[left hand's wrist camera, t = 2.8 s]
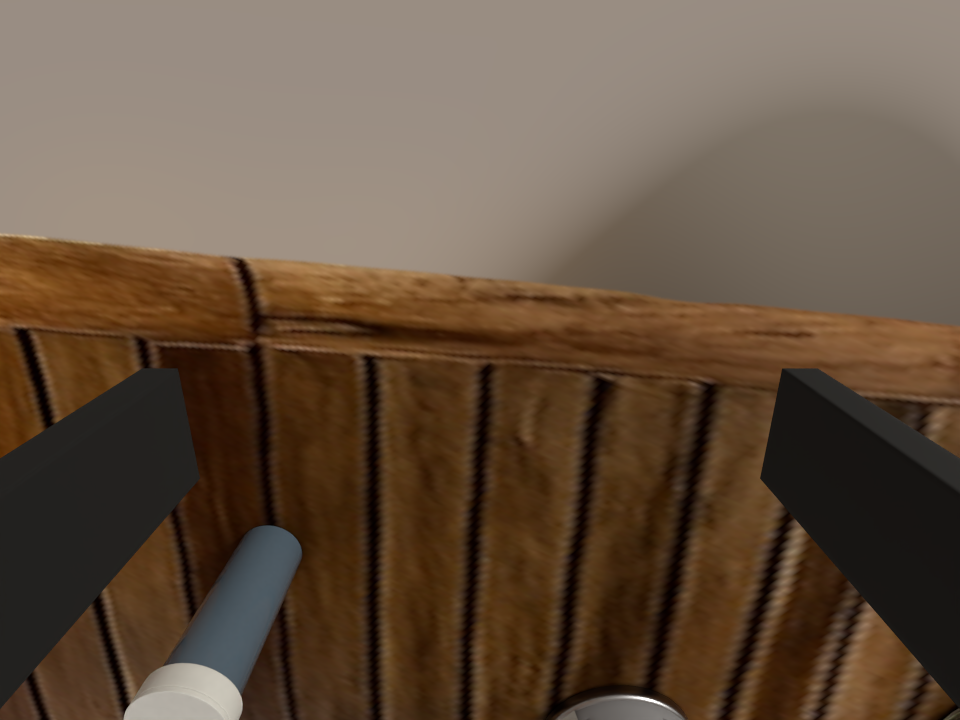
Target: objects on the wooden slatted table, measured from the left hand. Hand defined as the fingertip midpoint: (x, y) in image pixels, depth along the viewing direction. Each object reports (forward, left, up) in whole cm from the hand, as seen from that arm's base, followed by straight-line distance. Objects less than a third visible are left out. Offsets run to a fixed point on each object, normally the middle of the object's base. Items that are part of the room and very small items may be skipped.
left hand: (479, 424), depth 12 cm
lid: (-26, +18, -12) cm, 34 cm away
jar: (-26, +18, -28) cm, 42 cm away
